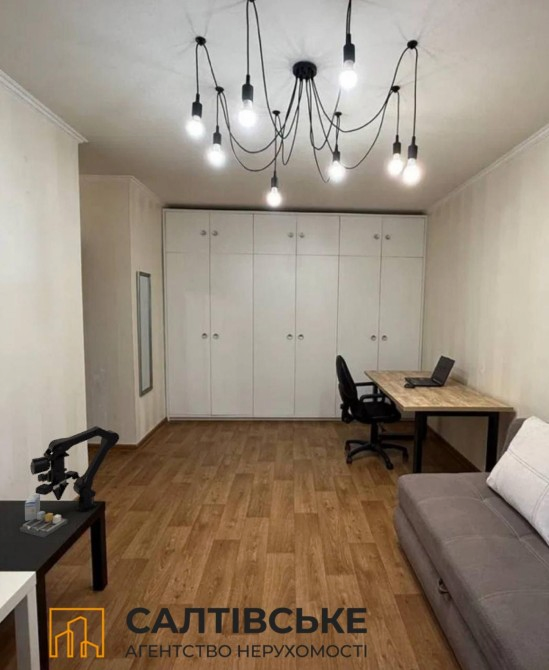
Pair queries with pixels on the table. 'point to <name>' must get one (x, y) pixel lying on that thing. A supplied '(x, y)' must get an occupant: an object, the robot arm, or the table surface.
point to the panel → (41, 527)
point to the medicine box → (32, 507)
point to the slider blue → (40, 515)
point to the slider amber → (48, 517)
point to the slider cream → (56, 519)
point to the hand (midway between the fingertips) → (58, 499)
